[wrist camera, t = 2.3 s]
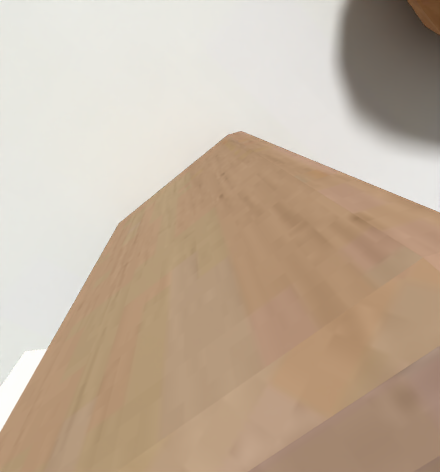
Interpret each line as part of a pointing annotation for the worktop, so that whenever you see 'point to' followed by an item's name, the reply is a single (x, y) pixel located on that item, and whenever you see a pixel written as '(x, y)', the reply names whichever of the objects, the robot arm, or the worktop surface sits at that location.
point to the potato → (428, 13)
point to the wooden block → (247, 331)
